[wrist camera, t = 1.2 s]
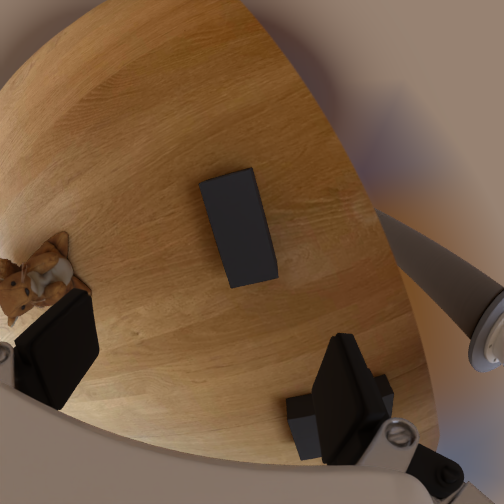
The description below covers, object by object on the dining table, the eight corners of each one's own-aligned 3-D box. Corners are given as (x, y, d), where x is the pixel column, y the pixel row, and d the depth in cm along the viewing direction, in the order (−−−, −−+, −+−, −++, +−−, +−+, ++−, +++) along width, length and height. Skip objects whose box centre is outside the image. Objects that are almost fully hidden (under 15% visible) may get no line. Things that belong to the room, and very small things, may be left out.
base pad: (385, 374, 38) (394, 393, 34) (381, 422, 42) (387, 439, 38) (285, 398, 40) (287, 419, 36) (299, 442, 44) (300, 460, 40)
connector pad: (252, 167, 30) (250, 168, 25) (277, 262, 33) (278, 278, 29) (207, 179, 30) (198, 183, 26) (235, 271, 33) (230, 288, 29)
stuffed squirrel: (98, 296, 36) (45, 349, 23) (38, 300, 37) (-11, 341, 24) (76, 227, 33) (9, 262, 20) (18, 243, 34) (-39, 274, 21)
